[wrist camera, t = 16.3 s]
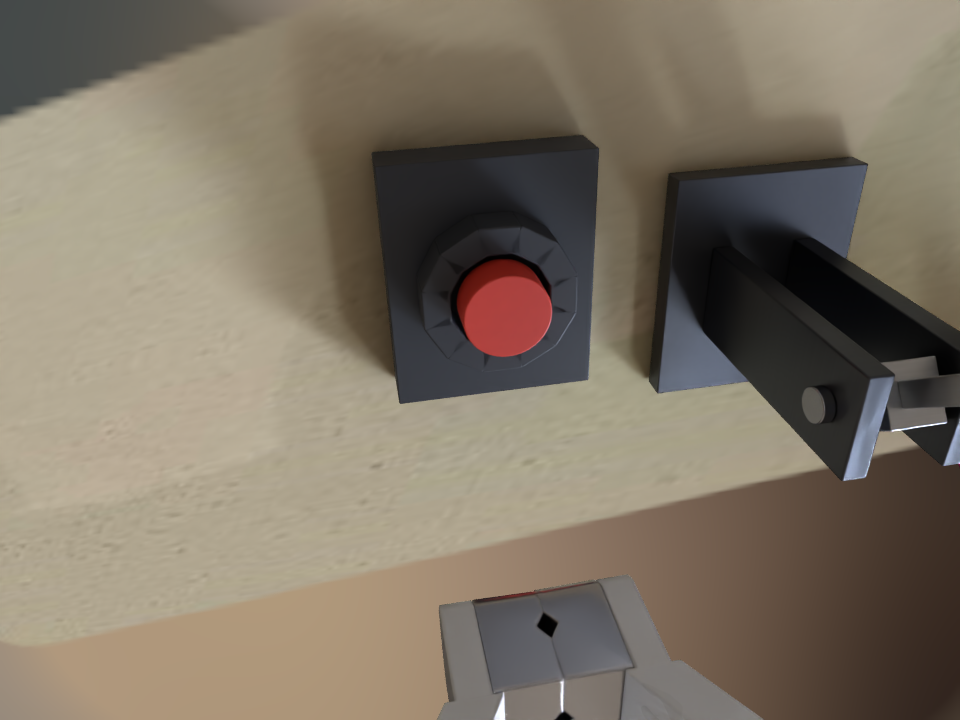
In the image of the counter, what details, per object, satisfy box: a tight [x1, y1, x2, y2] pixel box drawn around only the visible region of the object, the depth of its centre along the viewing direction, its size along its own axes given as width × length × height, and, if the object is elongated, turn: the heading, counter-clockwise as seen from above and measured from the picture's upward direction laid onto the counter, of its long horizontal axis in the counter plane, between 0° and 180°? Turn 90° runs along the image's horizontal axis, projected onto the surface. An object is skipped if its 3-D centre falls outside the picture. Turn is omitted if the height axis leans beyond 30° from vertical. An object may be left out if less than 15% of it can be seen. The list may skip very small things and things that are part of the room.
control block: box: [372, 135, 599, 404], centre depth 33 cm, size 11×9×4 cm
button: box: [457, 259, 552, 357], centre depth 30 cm, size 4×4×2 cm
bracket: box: [649, 157, 960, 481], centre depth 32 cm, size 11×9×13 cm
